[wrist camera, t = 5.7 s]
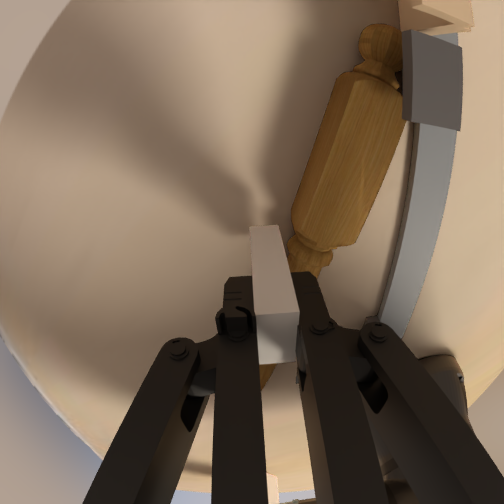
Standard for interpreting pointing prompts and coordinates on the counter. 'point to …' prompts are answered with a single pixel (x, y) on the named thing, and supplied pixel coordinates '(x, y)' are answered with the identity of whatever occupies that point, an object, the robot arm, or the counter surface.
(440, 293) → the counter surface
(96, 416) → the counter surface
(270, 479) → the milk
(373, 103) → the tap handle
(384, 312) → the board
